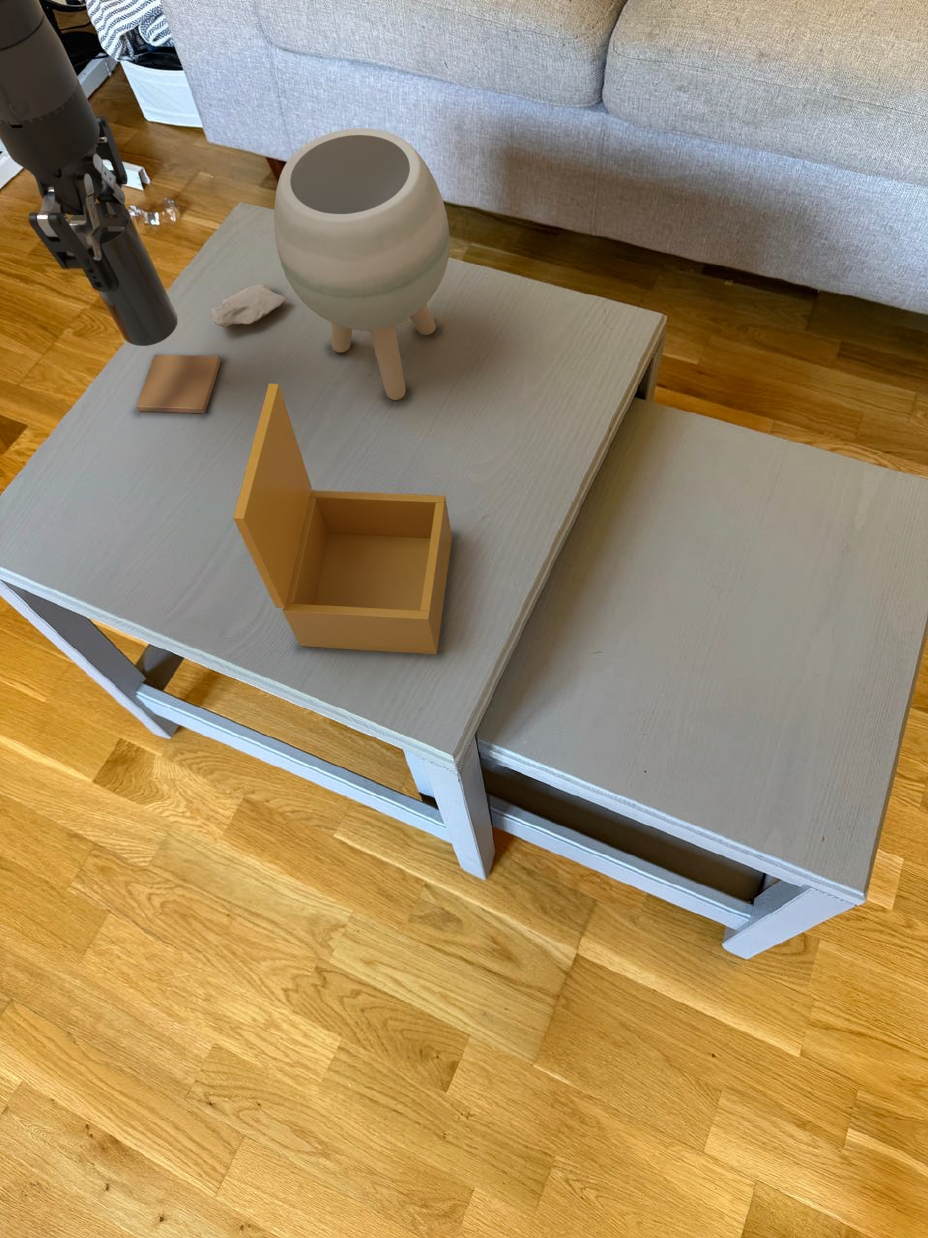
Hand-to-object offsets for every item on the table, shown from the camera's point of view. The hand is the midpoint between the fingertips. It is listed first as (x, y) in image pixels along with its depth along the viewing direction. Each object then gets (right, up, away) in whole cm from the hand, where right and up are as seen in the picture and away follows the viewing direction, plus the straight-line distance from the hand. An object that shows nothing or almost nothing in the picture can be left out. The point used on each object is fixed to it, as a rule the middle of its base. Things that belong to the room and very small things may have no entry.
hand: (117, 263), depth 84 cm
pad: (+1, -8, +15) cm, 16 cm away
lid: (+18, -24, -11) cm, 31 cm away
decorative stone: (+8, +1, +19) cm, 21 cm away
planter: (+24, -5, +14) cm, 28 cm away
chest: (+24, -30, 0) cm, 39 cm away
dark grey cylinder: (+1, -4, +7) cm, 8 cm away
